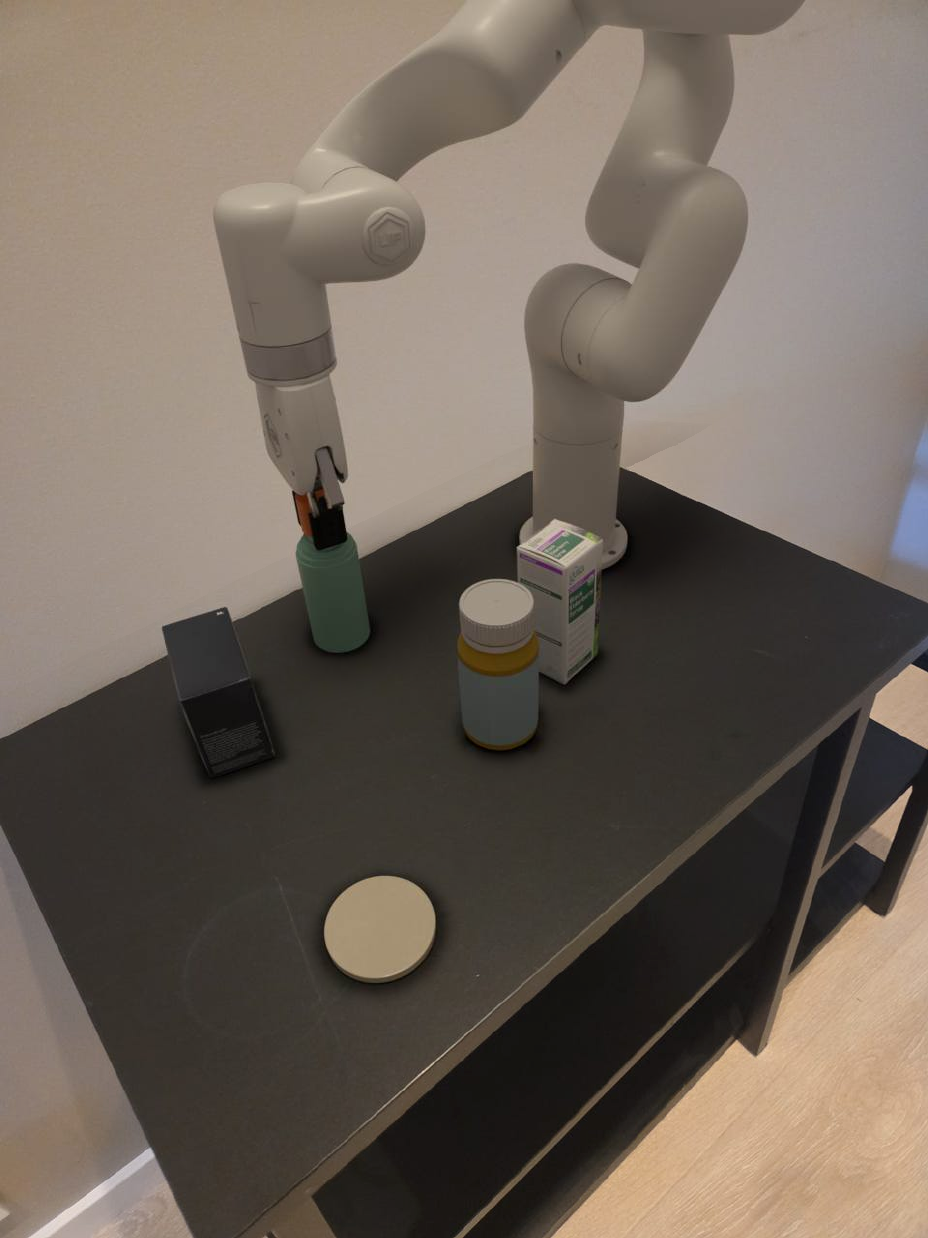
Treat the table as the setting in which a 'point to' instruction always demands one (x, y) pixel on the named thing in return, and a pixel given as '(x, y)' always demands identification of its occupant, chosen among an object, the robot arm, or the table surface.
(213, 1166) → the table surface
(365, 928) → the coaster
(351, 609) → the sauce bottle
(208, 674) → the small box
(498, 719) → the bottle
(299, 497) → the cap
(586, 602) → the syrup box
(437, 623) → the table surface
